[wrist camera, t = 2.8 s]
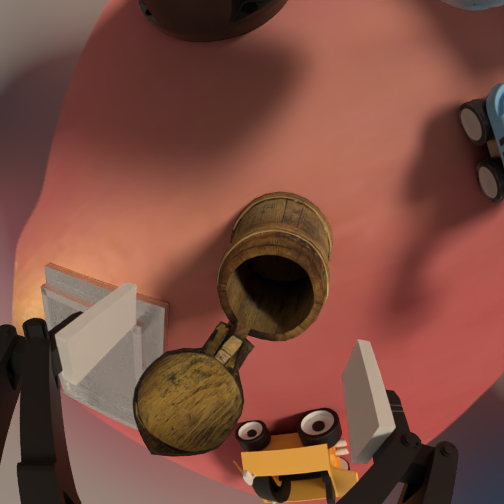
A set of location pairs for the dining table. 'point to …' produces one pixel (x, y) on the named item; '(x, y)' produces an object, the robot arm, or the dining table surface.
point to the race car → (296, 460)
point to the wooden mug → (238, 325)
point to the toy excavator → (488, 139)
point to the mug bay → (121, 355)
